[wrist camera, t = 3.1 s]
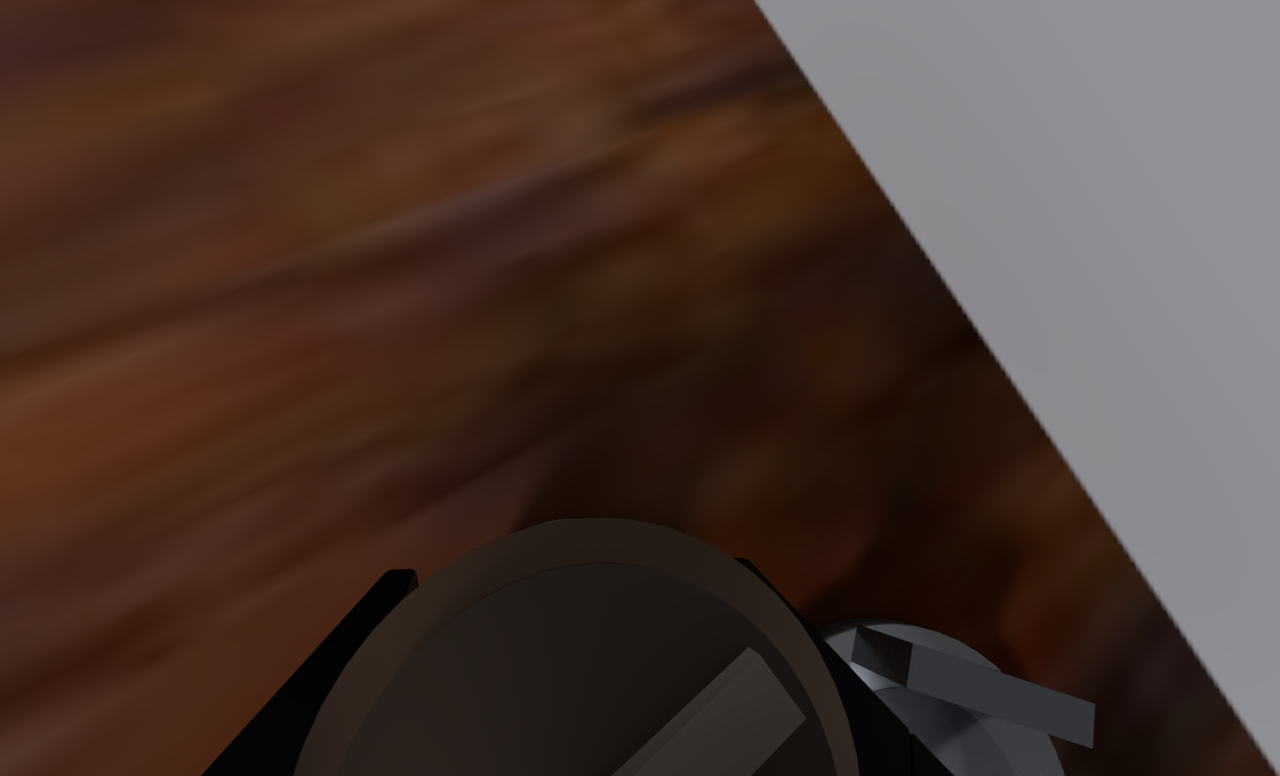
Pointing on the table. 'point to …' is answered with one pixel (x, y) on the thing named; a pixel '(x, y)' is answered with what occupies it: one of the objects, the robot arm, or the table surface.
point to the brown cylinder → (585, 668)
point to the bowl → (961, 699)
